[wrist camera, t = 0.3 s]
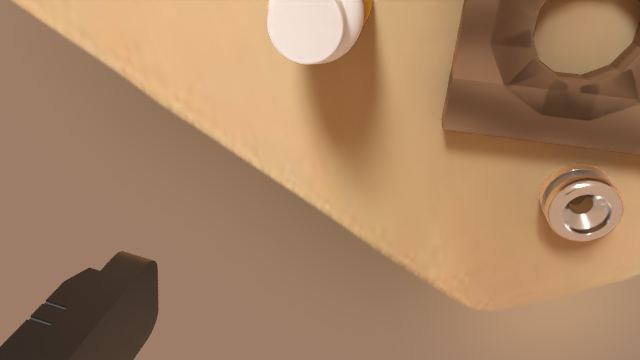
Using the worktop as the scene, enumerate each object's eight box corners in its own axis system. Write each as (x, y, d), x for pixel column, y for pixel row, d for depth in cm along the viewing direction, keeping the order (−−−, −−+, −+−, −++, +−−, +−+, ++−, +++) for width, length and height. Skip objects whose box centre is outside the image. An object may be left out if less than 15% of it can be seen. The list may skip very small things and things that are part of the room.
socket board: (487, -123, 30) (491, -125, 28) (768, -104, 28) (791, -104, 27) (441, 119, 37) (442, 129, 35) (664, 147, 35) (676, 159, 34)
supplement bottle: (353, -61, 33) (329, -52, 24) (386, 19, 35) (374, 54, 26) (280, -24, 35) (234, -2, 26) (314, 51, 37) (282, 93, 28)
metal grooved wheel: (544, 162, 37) (534, 221, 40) (553, 180, 35) (542, 243, 37) (619, 164, 37) (605, 224, 39) (634, 183, 34) (618, 247, 36)
